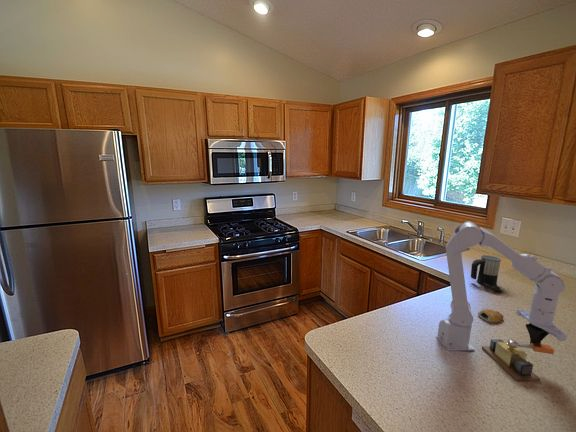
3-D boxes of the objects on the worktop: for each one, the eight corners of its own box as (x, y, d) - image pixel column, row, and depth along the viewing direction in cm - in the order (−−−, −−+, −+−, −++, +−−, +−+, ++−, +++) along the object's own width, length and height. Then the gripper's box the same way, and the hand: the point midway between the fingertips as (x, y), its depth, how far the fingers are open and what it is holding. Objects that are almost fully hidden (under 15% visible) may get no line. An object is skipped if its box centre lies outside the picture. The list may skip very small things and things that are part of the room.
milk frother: (484, 279, 159) (488, 254, 156) (514, 291, 145) (519, 264, 142) (466, 281, 155) (470, 256, 152) (494, 294, 140) (499, 266, 137)
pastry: (492, 313, 122) (494, 305, 122) (508, 321, 116) (509, 313, 115) (475, 315, 120) (477, 307, 119) (490, 324, 114) (492, 316, 113)
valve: (518, 376, 84) (521, 360, 83) (486, 348, 97) (489, 334, 96) (534, 376, 85) (537, 360, 84) (500, 348, 97) (503, 334, 96)
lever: (509, 347, 89) (509, 342, 89) (505, 342, 91) (506, 338, 91) (553, 354, 86) (554, 350, 86) (548, 349, 88) (549, 345, 88)
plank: (517, 380, 83) (517, 378, 83) (481, 348, 98) (482, 346, 98) (539, 380, 84) (540, 378, 84) (500, 348, 98) (501, 346, 98)
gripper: (580, 321, 80) (570, 362, 83) (533, 296, 95) (525, 332, 97) (557, 321, 80) (548, 363, 82) (513, 297, 94) (506, 333, 97)
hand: (534, 346), depth 90 cm, fingers closed, pressing on lever
